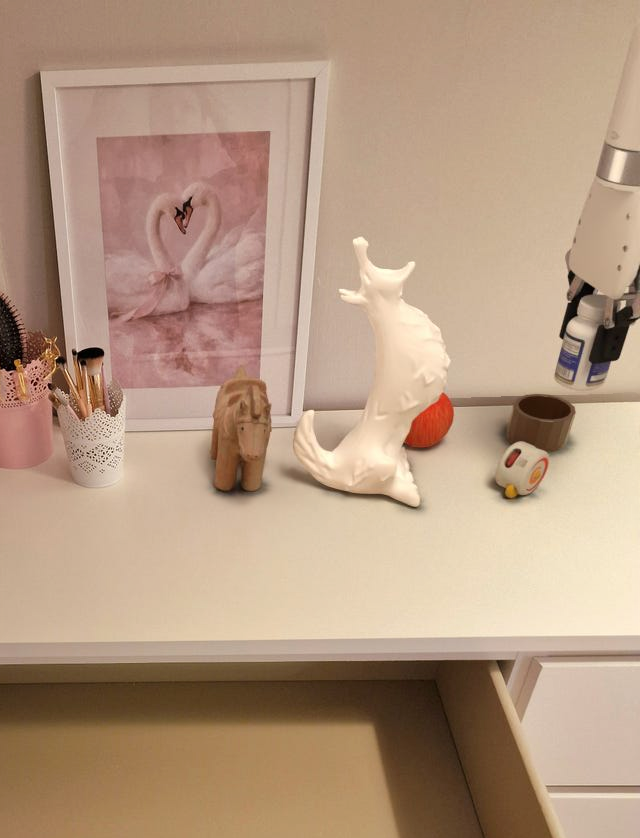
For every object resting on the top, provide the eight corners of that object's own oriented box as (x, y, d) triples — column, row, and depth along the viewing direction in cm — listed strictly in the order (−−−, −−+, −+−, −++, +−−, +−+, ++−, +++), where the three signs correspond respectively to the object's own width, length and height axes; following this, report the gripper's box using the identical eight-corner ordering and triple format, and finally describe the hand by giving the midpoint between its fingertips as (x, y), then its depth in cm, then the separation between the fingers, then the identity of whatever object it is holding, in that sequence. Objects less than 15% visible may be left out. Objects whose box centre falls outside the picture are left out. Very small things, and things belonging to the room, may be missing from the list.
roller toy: (548, 487, 108) (560, 446, 104) (517, 506, 105) (529, 464, 101) (517, 473, 111) (528, 432, 107) (486, 491, 108) (497, 450, 104)
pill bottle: (603, 372, 98) (627, 293, 92) (605, 394, 94) (630, 313, 88) (552, 368, 99) (573, 290, 93) (552, 389, 95) (574, 309, 89)
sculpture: (431, 509, 106) (483, 254, 85) (293, 511, 106) (312, 258, 86) (415, 460, 114) (459, 217, 94) (286, 462, 115) (302, 221, 95)
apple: (390, 423, 121) (399, 368, 116) (450, 430, 119) (461, 375, 114) (383, 451, 116) (391, 396, 110) (445, 459, 114) (457, 403, 108)
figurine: (220, 522, 105) (221, 408, 95) (206, 448, 118) (206, 342, 108) (280, 518, 106) (287, 404, 95) (260, 445, 118) (265, 338, 108)
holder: (549, 421, 120) (557, 391, 117) (576, 448, 114) (586, 417, 111) (496, 427, 119) (504, 397, 116) (522, 455, 114) (530, 424, 111)
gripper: (738, 185, 76) (667, 379, 88) (627, 138, 88) (578, 314, 101) (658, 194, 75) (597, 389, 87) (558, 146, 88) (517, 322, 100)
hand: (588, 347), depth 94 cm, fingers closed on pill bottle, 5 cm apart
